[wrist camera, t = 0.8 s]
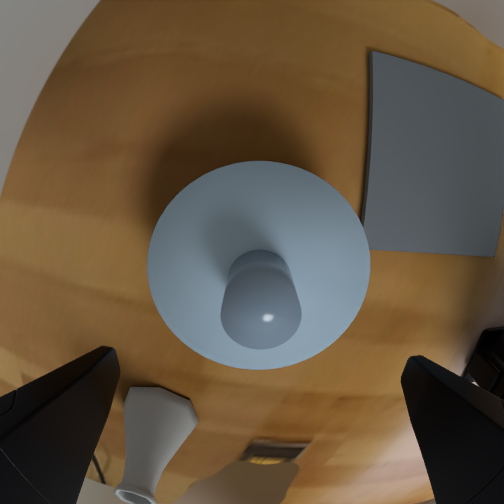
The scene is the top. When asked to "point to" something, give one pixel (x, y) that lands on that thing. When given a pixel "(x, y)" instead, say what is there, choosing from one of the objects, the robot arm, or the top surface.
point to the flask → (151, 439)
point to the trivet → (432, 162)
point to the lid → (258, 265)
